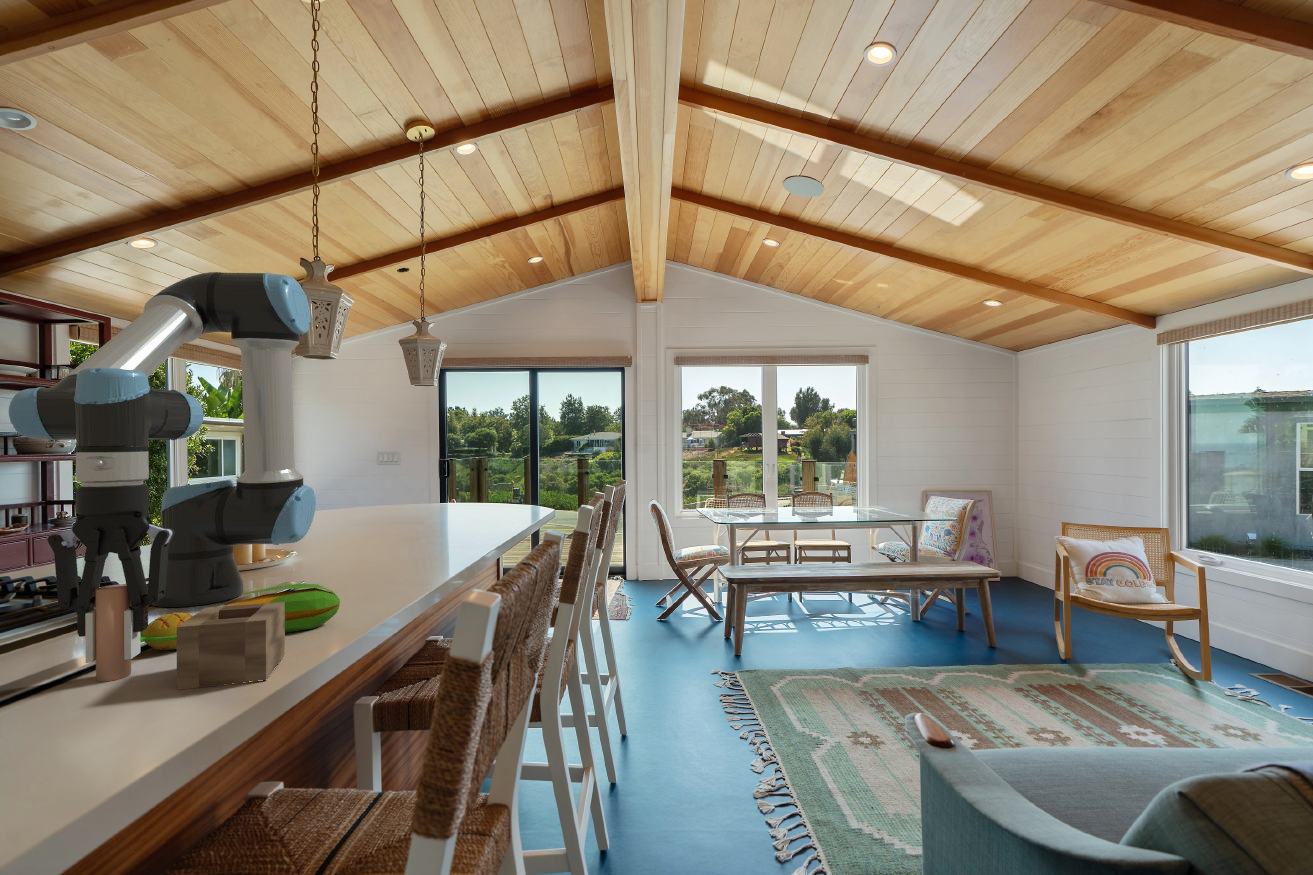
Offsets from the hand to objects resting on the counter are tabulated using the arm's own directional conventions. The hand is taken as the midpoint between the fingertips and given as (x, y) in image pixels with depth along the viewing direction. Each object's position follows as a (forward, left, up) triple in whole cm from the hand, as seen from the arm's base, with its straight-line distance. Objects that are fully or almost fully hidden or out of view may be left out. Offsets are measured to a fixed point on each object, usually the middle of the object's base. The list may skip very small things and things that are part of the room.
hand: (113, 657), depth 86 cm
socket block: (+3, +15, -3) cm, 16 cm away
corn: (-16, +15, -3) cm, 22 cm away
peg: (0, 0, -3) cm, 3 cm away
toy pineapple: (-11, +2, -3) cm, 11 cm away
